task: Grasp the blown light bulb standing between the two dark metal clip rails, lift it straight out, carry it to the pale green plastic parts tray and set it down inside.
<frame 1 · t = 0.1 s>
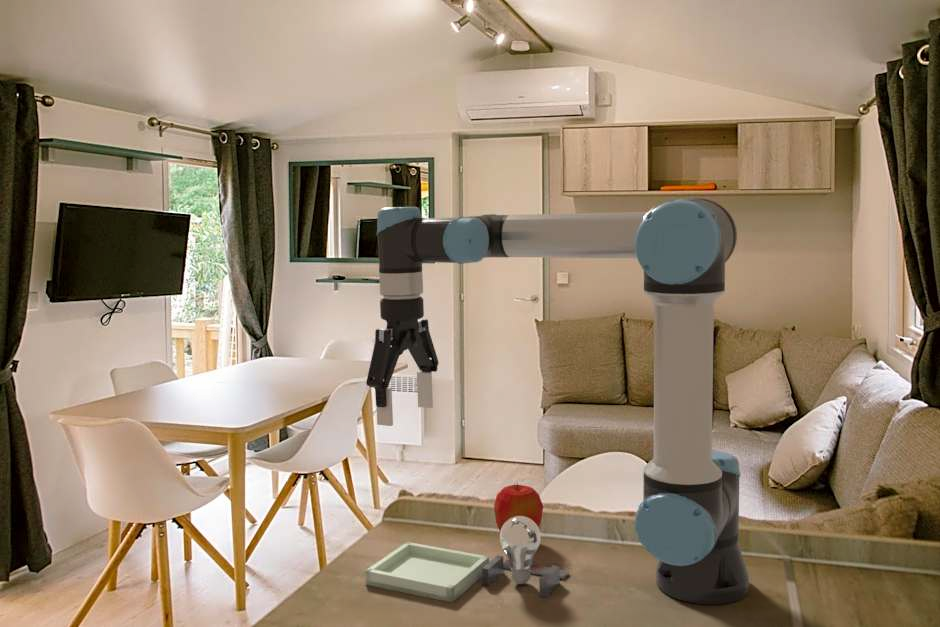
hand: (406, 415, 156), 28 cm above the table, fingers open, 13 cm apart
light bulb: (521, 585, 152), on the table
parts tray: (428, 577, 155), on the table
apple: (519, 544, 170), on the table
clip holder: (521, 584, 152), on the table
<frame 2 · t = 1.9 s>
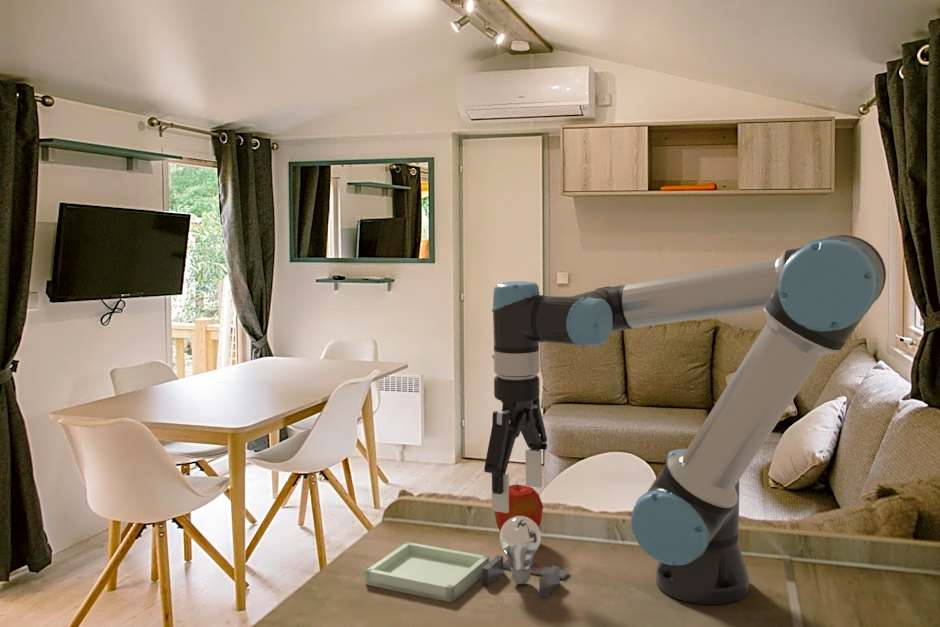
hand: (517, 498, 150), 15 cm above the table, fingers open, 13 cm apart
nothing on the table moved.
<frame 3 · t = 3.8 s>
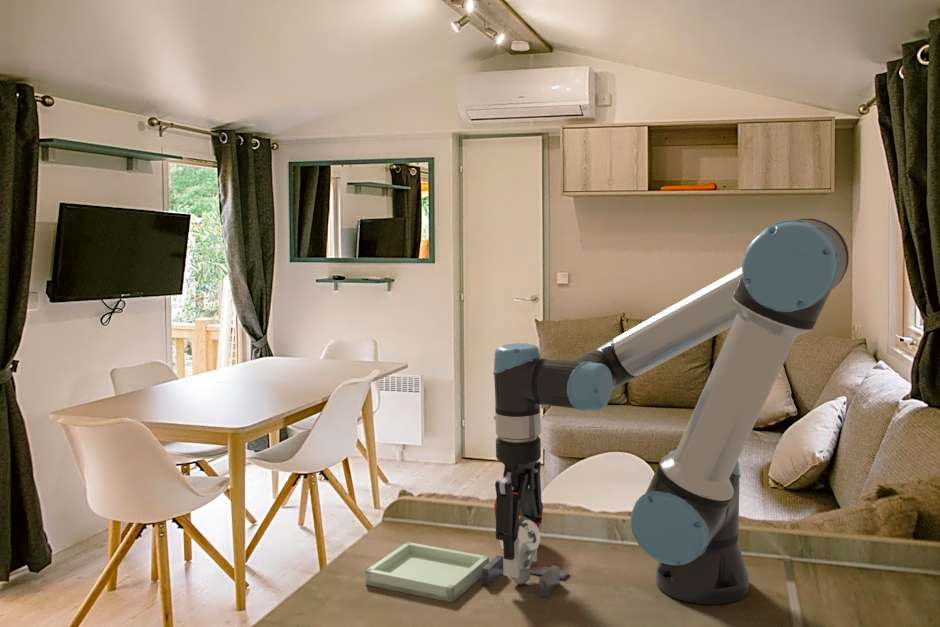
hand: (520, 567, 151), 3 cm above the table, fingers closed on light bulb, 6 cm apart
light bulb: (521, 585, 152), on the table, touching gripper
everything else where it was.
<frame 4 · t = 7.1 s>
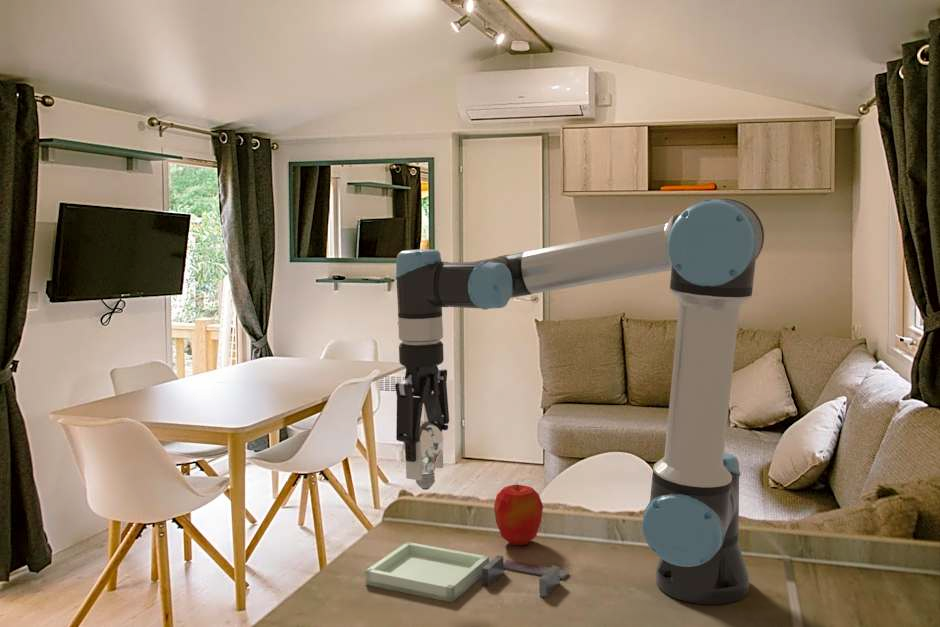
hand: (425, 472, 153), 19 cm above the table, fingers closed on light bulb, 6 cm apart
light bulb: (425, 489, 153), point 16 cm above the table, touching gripper
everything else where it was.
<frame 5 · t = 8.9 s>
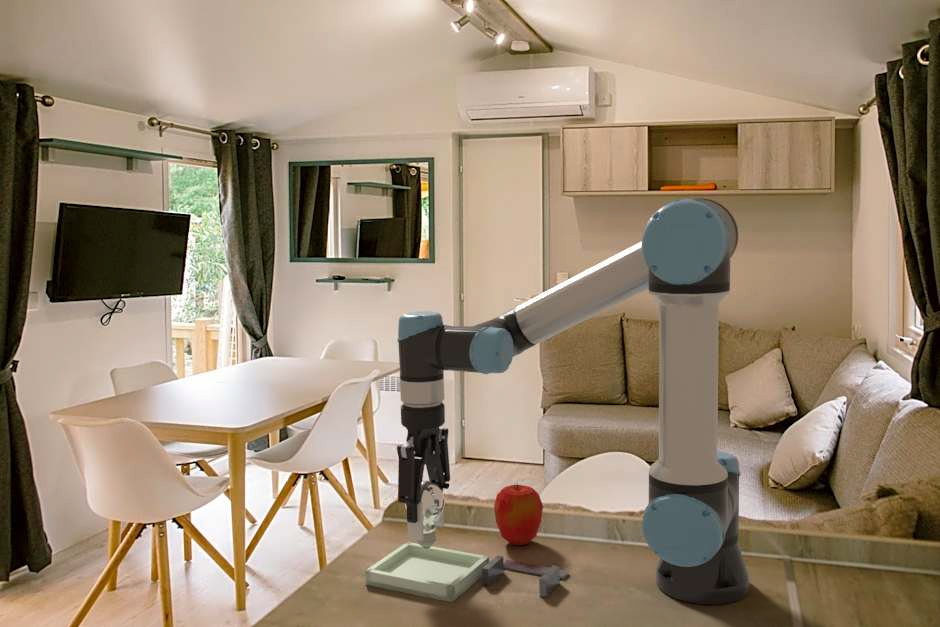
hand: (426, 531, 154), 8 cm above the table, fingers closed on light bulb, 6 cm apart
light bulb: (426, 548, 155), point 5 cm above the table, touching gripper
everything else where it was.
when the fingers open (5 cm above the table, at t = 10.3 s): light bulb drops 2 cm, resting on parts tray.
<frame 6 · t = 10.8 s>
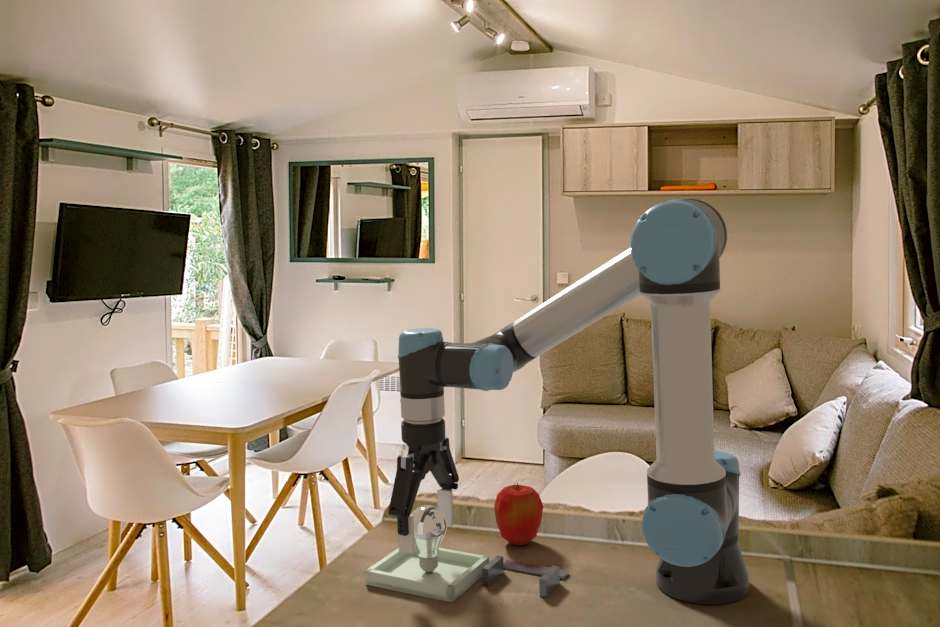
hand: (427, 538, 154), 7 cm above the table, fingers open, 13 cm apart
light bulb: (429, 573, 155), point 1 cm above the table, touching parts tray
everything else where it was.
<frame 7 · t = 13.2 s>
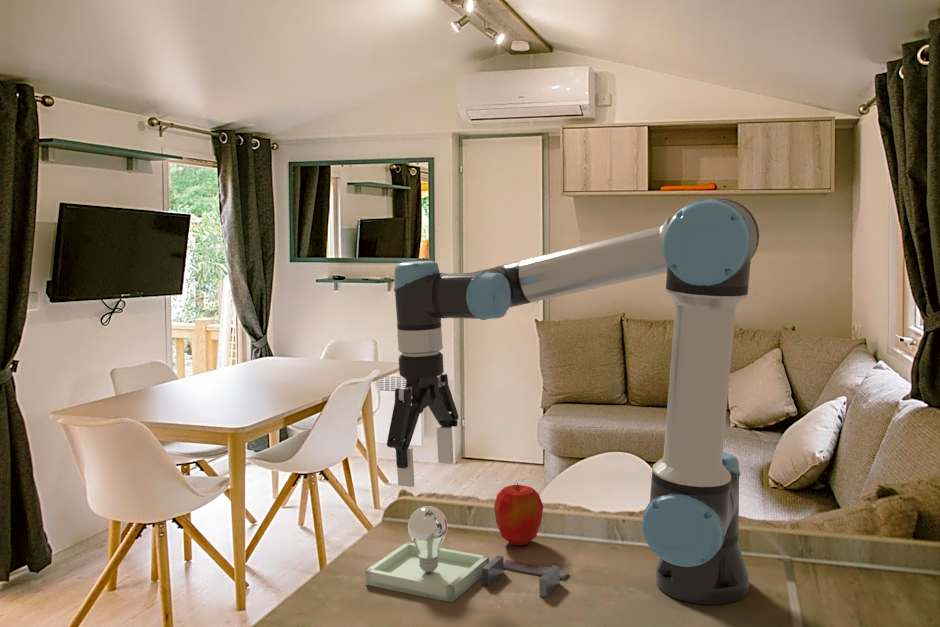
hand: (426, 474, 153), 19 cm above the table, fingers open, 13 cm apart
nothing on the table moved.
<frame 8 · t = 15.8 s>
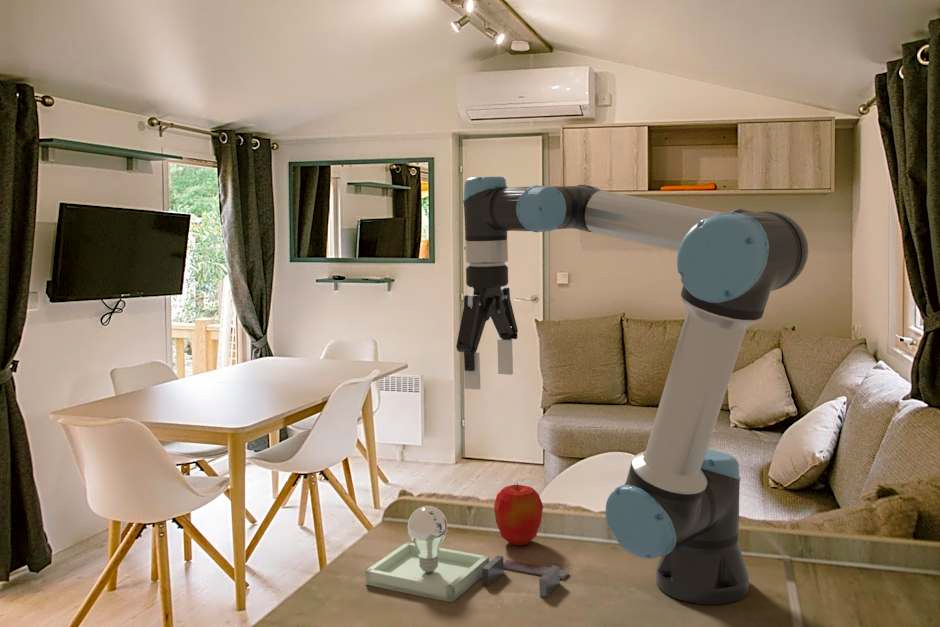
hand: (489, 381, 161), 33 cm above the table, fingers open, 13 cm apart
nothing on the table moved.
at the end: light bulb inside the target area on the parts tray (0.1 cm from its centre), point 0.6 cm above the parts tray's base; the gripper is holding nothing; light bulb touching parts tray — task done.
